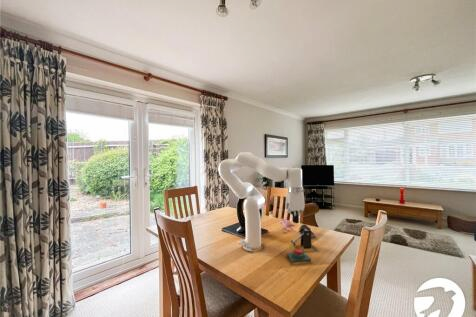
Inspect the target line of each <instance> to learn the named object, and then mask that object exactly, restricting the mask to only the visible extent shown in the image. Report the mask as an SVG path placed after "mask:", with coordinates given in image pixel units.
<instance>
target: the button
mask: <svg viewBox="0 0 476 317" xmlns="http://www.w3.org/2000/svg"><path fill="white" fill-rule="evenodd" d="M294 250H295V254H297V255H301V254H302V251H303V249H300V248H295V249H294Z"/></svg>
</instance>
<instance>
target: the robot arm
mask: <svg viewBox="0 0 476 317" xmlns="http://www.w3.org/2000/svg"><path fill="white" fill-rule="evenodd" d="M244 168H247V169H249V170H252V171H254V172H256V173H258V174H260V175H262V176H263V177H264V178H267V179H268V180H271V181H273V182H277V183H278V182H279V183H281V182H282V181H285V180H287V192H286V195H285V210H286V213H287V214H291V216H292V223H293V224H299V222H300V215H301V213H302V212H305V207H306V206H305V205H306V204H305V203H306V202H305V195H304V192H303V190H304V187H303V169H302V168H301V167H284V166H281V167H277V166H275V165H272V164H269V163H267V162H265V160H264V159H263V158H262V157H259V156H256V155H254V154H253V152H249V151H241V152H239V153H238V154H237V156H236V157H235V158H225V159H223V160H222V161H221V162H220V163H219V165H218V175H219V176H220V178H221V180H223V182H224V183H225V184H226V185H227V186H228V188H229V189H230V190H231V191H232V192H233V193H234V195H235V196H236V197H237V198H238V199H239V200H240V199H245V200H244V202H243V211H244V223H245V225H244V226H245V227H244V228H245V238H244V240H238V241H237V244H238V245H240V246H241V247H243V249H244V250H245V251H247V252H250V253H251V252H253V250H255V249H259V248H261V246H262V227H261V226H262V222H261V213H260V210H261V209H262V208H264V206H265V204H266V199H265V197H264V196H263V194H262V193H261V191H259V190H258V188H256V186H255V185H253V184H252V183H251V182H249V181H244V182H243V181H242V180H241V179H240V178H239V176H238V175H236V174H235V173H234V172H237V171H240V170H242V169H244Z"/></svg>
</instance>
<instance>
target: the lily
mask: <svg viewBox="0 0 476 317" xmlns="http://www.w3.org/2000/svg"><path fill="white" fill-rule="evenodd" d="M280 220H281V222H279V224H280V225H282V226H283V228H284V230H286V229H289V230H291V231H293V227H297V225H295V223H291V222H290V220H286V219H284V218H283V217H280Z"/></svg>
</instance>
